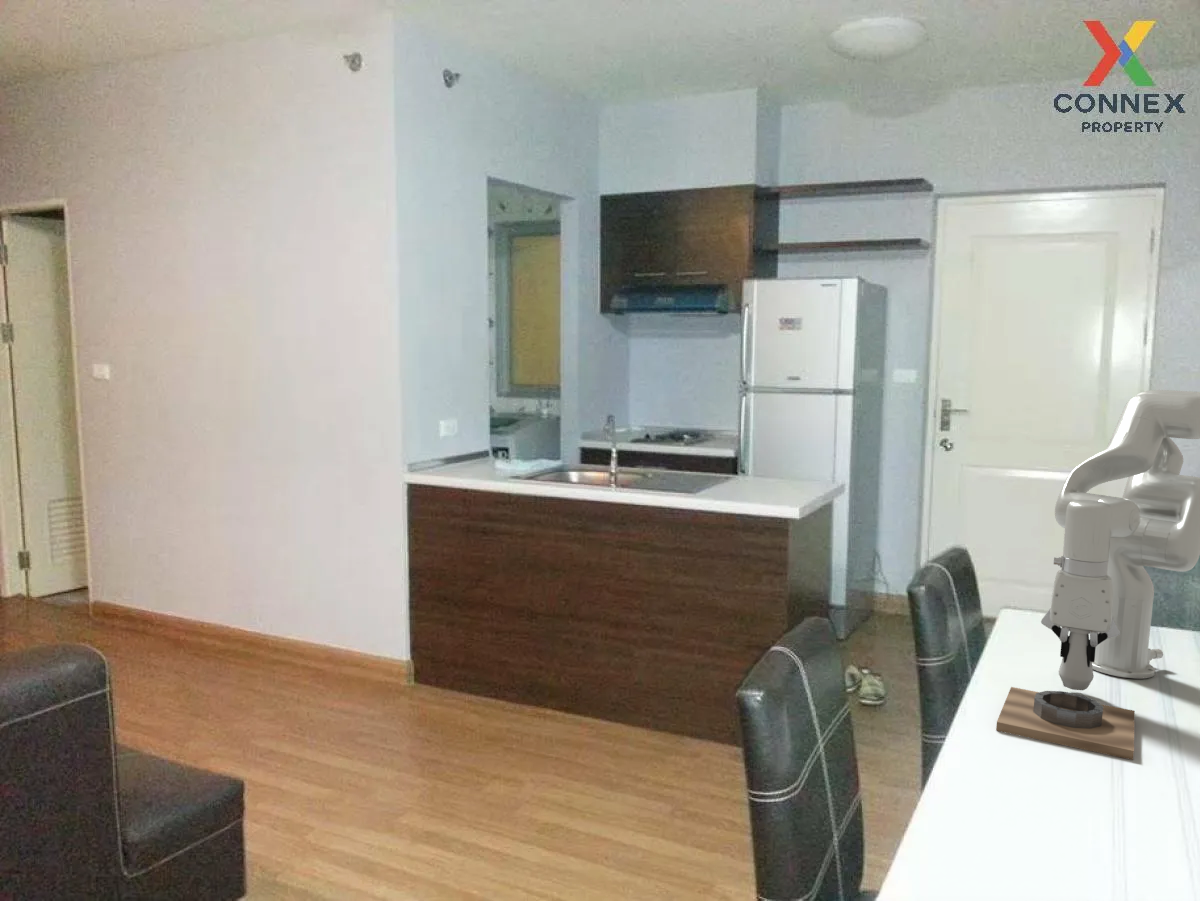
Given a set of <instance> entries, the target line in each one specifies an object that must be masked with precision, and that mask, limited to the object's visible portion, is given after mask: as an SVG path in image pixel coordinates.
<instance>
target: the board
mask: <svg viewBox="0 0 1200 901" xmlns="http://www.w3.org/2000/svg"><path fill="white" fill-rule="evenodd" d="M1039 692H1040V691H1034V690H1030V689H1026V688H1025V689H1024V688H1020V687H1014V686H1011V687H1010V689H1009V691H1008V694H1007V696H1006V699H1005V701H1004V703H1003V705H1002V708H1001V710H1000V712H999V716H998V718H997V720H996V725H995V726H996V727H995V731H996V730H997V731H998V732H1001V731H1002V733H1005V732H1006V733H1005V734H1010V733H1011V734H1010V735H1016V736H1019V735H1020V736H1019V737H1023V738H1024V737H1025V738H1028V737H1029V739H1034V740H1037V741H1043V742H1048V743H1053V744H1056V745H1057V744H1058V745H1061V746H1066V747H1070V748H1075V749H1081V750H1085V751H1089V752H1094V753H1099V754H1103V755H1108V756H1113V757H1117V758H1120V759H1126V760H1131V761H1133V760H1134V755H1135V752H1134V751H1135V718H1136V717H1135V715H1136V714H1135V713H1136V712H1135V710H1133V709H1128V708H1123V707H1117V706H1111V705H1107V704H1102V703H1100V704H1101V705H1102V706H1103V715H1102V724H1101V726H1099V727H1096V728H1092V729H1085V728H1071V727H1067V726H1062V725H1057V724H1054V723H1051V722H1049V721H1046V720H1044V719H1041V718H1040V717H1039V716H1037V715H1036V714H1035V713H1034V712H1033V709H1034V698H1035V695H1036V693H1039ZM1058 708H1062V707H1058ZM1062 709H1067V708H1062ZM1067 710H1072V709H1067ZM1072 711H1076V710H1072Z"/></svg>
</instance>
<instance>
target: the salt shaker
mask: <svg viewBox="0 0 1200 901" xmlns="http://www.w3.org/2000/svg"><path fill="white" fill-rule="evenodd" d="M1068 636H1069V642H1068V643H1070V644H1069V653H1068V656H1067V660H1066V662H1065V663H1064V657H1062V660H1061V662H1060V666H1059V669H1058V676H1059V678H1060V679H1061V681H1062V685H1063V687H1065V688H1068V689H1070V690H1074V691H1085V690H1087V689H1088V688H1089V686H1090V685H1091V683H1092V682H1093V679H1094V669H1093V667H1092V662H1091V661H1090V667H1088V666H1087V654H1086V651H1087V646H1088V643H1089V640H1090V631H1086V630H1079V629H1072V628H1069V634H1068Z"/></svg>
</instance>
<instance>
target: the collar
mask: <svg viewBox="0 0 1200 901" xmlns="http://www.w3.org/2000/svg"><path fill="white" fill-rule="evenodd" d="M1038 692H1039V693H1036V695H1035V698H1034V709H1033V712H1034V713H1035V714H1036V715H1037V716H1039V717H1040V718H1041V719H1044V720H1046V721H1049V722H1051V723H1054V724H1057V725H1062V726H1067V727H1071V728H1085V729H1092V728H1096V727H1099V726H1101V724H1102V715H1103V706H1102V705H1103V704H1102V703H1099V702H1098V701H1096V700H1095V699H1093V698H1090V697H1086V696H1084V695H1081V694H1078V693H1072V692H1068V691H1067V692H1066V691H1061V690H1058V691H1057V690H1044V691H1038ZM1101 704H1102V705H1101ZM1058 707H1062V708H1067V709H1072V710H1076V711H1072V710H1067V709H1062V708H1058Z"/></svg>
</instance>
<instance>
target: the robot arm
mask: <svg viewBox="0 0 1200 901" xmlns="http://www.w3.org/2000/svg"><path fill="white" fill-rule="evenodd" d="M1172 438H1174V439H1184V440H1185V439H1186V440H1200V391H1193V390H1192V391H1191V390H1174V389H1153V390H1152V389H1149V390H1144V391H1141V392H1138V393H1137V394H1136V395H1134V396H1133V397H1131V398H1129V400H1128V401H1126V404H1125V406H1124V407H1123V410H1122V412H1121V414H1120V417H1119V419H1118V421H1117V423H1116V426H1115V428H1114V430H1113V433H1112V435H1111V437H1110V439H1109V442H1108V445H1107V446H1106V448H1105V449H1103V450H1102V451H1100V452H1097V453H1095V454H1094V455H1093V456H1090V457H1089V458H1087V459H1085V460H1084V461H1083V462H1082V463H1081V462H1080V463H1079V465H1077V466H1076V467H1075V468H1074V469H1073V470H1072V471H1070V473H1069V474H1068V476H1067V477H1066V479H1065V481H1064V483H1063V485H1062V487H1061V490H1060V491H1059V494H1058V497H1057V499H1056V502H1055V506H1054V518H1055V521H1056V524H1058V525H1059V526H1060V527H1061V528H1063V529H1064V533H1063V534H1064V536H1063V537H1064V538H1063V548H1062V550H1063V551H1062V555H1061V556H1060V557H1059V556H1058V557H1054V558H1053V565H1056V566H1058V567H1059V568H1061V569H1060V570H1058V571H1057V572H1056V575H1055V577H1054V580H1053V586H1052V587H1053V588H1052V595H1051V600H1050V607H1049V609H1048V610H1047V612H1046V613H1045V615H1043V617H1042V618H1041V621H1040V623H1041V624H1042V625H1043V626H1045V627H1046V628H1048V629H1049V630H1051V631H1052V632H1053V633H1054V634H1055V635H1056V636H1057V637H1058V639H1059V641H1060V642H1061V643H1060V654H1059V656H1060V658H1063V657H1064V663H1065V662H1066V660H1067V656H1068V653H1069V644H1070V643H1068V642H1069V633H1070V631H1069V628H1072V629H1079V630H1086V631H1090V634H1089V643H1088V646H1087V651H1086V654H1087V666H1088V667H1090V661H1091V662H1092V667H1093V671H1097V672H1099V673H1102V674H1106V675H1109V676H1113V677H1119V678H1124V679H1125V678H1126V679H1140V680H1143V679H1149V678H1152V677H1154V676H1155V675H1156V674H1155V673H1156V668H1155V667H1154V666H1153V665H1151V663H1150V661H1152V660H1156V659H1161V658H1163V656H1164V651H1163V650H1162V649H1160V648H1155V649H1154V648H1153V649H1151V648H1149V645H1150V634H1151V625H1152V615H1153V605H1154V604H1153V603H1154V593H1155V588H1154V587H1155V586H1154V583H1153V581H1152V579H1151V576H1150V575H1149V573H1148V572H1147V570H1146V569H1145V567H1149V568H1156V569H1160V570H1167V571H1174V572H1181V573H1183V572H1189V571H1190V570H1192V569H1193V568H1194V567H1195V566H1196V564H1197V563H1198V561H1199V558H1200V477H1199V476H1193V475H1185V474H1181V470H1182V468H1183V464H1184V457H1183V453H1182V451H1181V450H1180V449H1179V447H1178V445H1177V444H1176V443H1175V442H1174V440H1172ZM1125 478H1127V481H1126V483H1125V487H1124V490H1123V492H1122V493H1123V494H1122V497H1117V496H1111V495H1104V494H1096V493H1091V492H1090V493H1089V491H1090V490H1092V489H1093V488H1095V487H1097V486H1099V485H1101V484H1105V483H1109V482H1112V481H1116V480H1121V479H1125Z"/></svg>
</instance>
